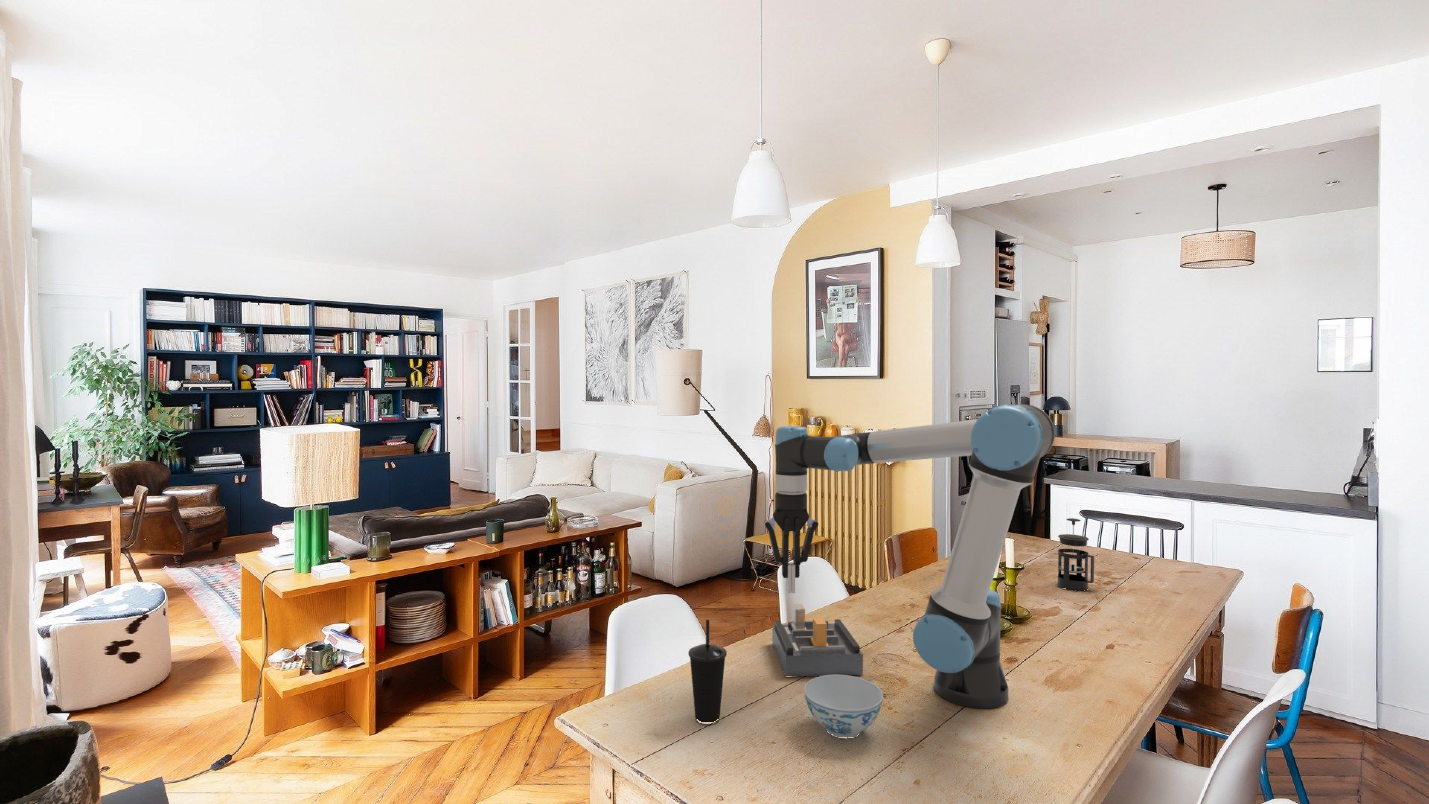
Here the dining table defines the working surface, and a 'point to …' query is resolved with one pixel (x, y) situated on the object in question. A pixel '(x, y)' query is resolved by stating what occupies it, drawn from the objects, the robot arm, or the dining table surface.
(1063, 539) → the french press
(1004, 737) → the dining table surface
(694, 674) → the drinking cup
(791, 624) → the grey compartment box
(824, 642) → the switch
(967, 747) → the dining table surface
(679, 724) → the dining table surface
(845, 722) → the chinaware
